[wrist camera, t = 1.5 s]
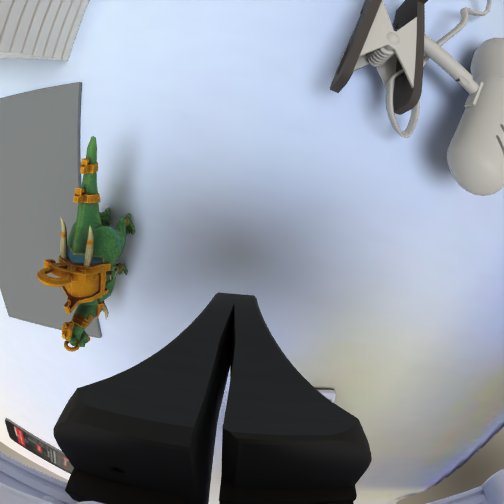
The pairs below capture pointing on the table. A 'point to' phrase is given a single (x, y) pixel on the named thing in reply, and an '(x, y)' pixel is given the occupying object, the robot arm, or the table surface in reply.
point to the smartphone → (38, 446)
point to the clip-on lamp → (410, 85)
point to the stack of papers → (39, 28)
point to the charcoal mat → (38, 198)
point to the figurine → (87, 256)
